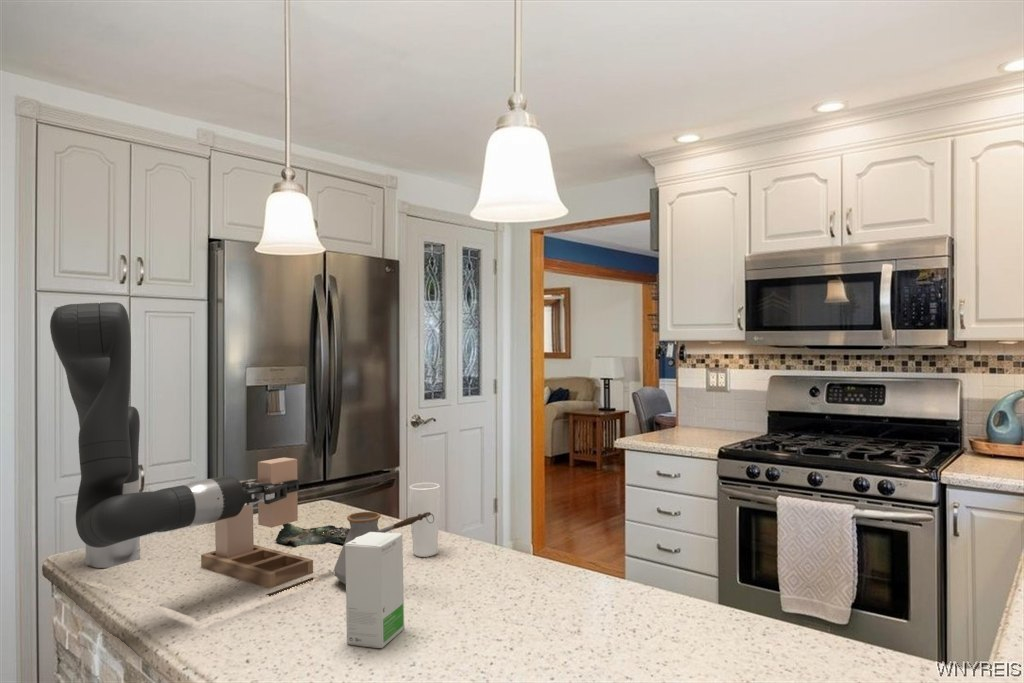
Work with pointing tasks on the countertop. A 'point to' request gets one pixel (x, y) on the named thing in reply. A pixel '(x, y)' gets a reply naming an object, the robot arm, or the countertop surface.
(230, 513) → the robot arm
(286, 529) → the decorative rock
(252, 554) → the wooden divided tray
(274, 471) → the clay bar
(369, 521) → the coffee pot
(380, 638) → the skincare box
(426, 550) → the drinking glass
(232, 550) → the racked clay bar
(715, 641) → the countertop surface
